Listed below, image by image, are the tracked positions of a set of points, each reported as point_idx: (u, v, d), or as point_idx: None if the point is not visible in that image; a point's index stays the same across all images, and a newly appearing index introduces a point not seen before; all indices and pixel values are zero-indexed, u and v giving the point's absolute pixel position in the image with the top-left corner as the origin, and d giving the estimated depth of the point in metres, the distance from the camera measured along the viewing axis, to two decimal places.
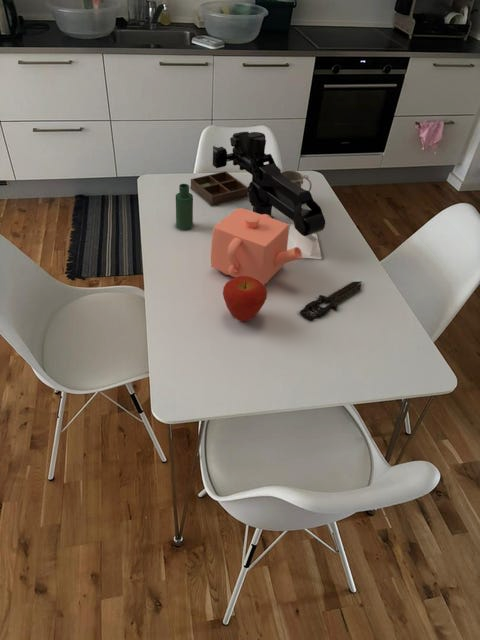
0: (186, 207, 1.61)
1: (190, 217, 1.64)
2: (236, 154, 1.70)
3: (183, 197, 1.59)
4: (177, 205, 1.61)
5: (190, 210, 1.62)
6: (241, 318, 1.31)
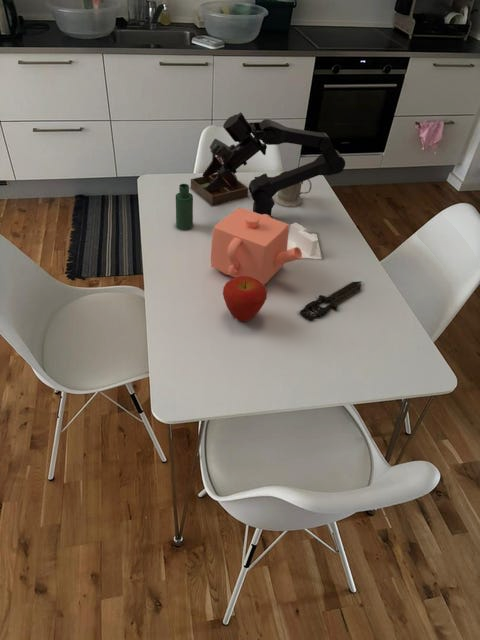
0: (186, 207, 1.61)
1: (190, 217, 1.64)
2: (230, 160, 1.56)
3: (183, 197, 1.59)
4: (177, 205, 1.61)
5: (190, 210, 1.62)
6: (241, 318, 1.31)
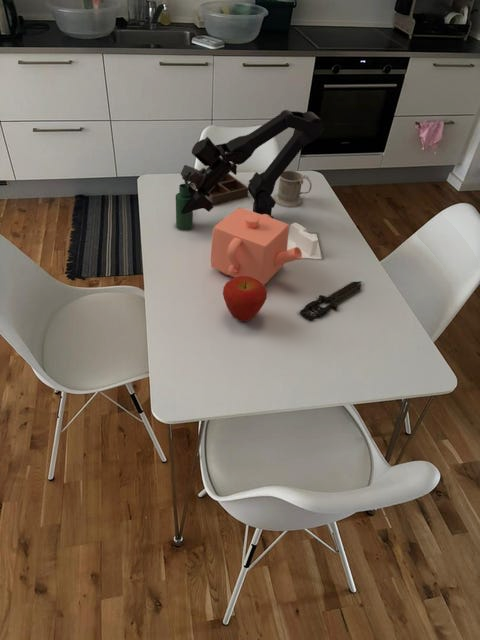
0: None
1: (190, 217, 1.64)
2: (203, 184, 1.57)
3: (183, 197, 1.59)
4: (177, 205, 1.61)
5: None
6: (241, 318, 1.31)
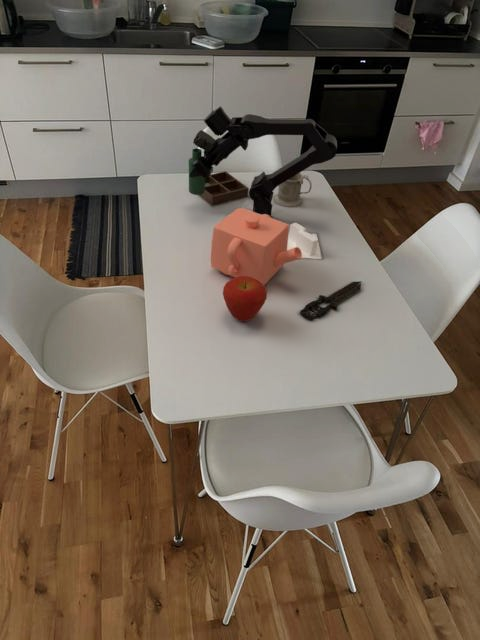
0: None
1: (199, 183, 1.69)
2: (211, 152, 1.60)
3: (193, 161, 1.65)
4: None
5: None
6: (241, 318, 1.31)
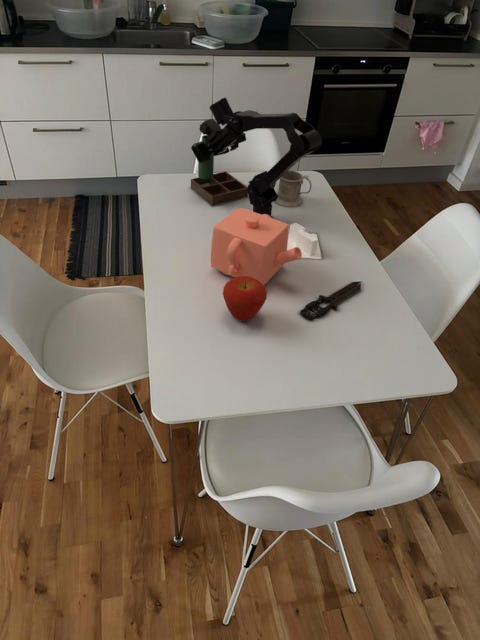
0: None
1: (204, 168, 1.79)
2: (213, 140, 1.70)
3: None
4: None
5: (204, 161, 1.77)
6: (241, 318, 1.31)
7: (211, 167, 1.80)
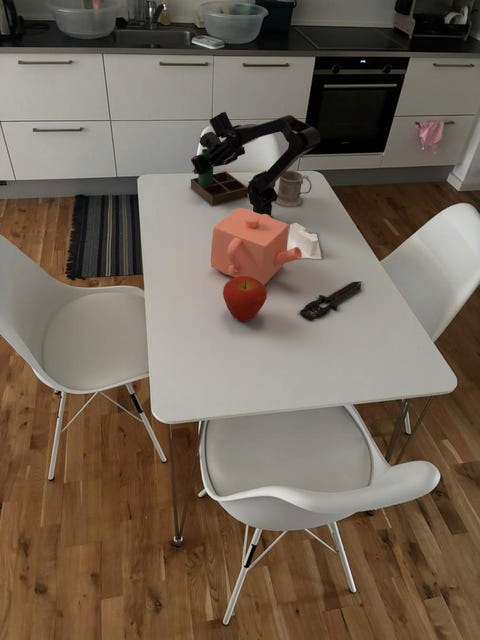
0: None
1: (204, 180, 1.82)
2: (212, 152, 1.73)
3: None
4: None
5: (204, 174, 1.81)
6: (241, 318, 1.31)
7: (211, 180, 1.83)
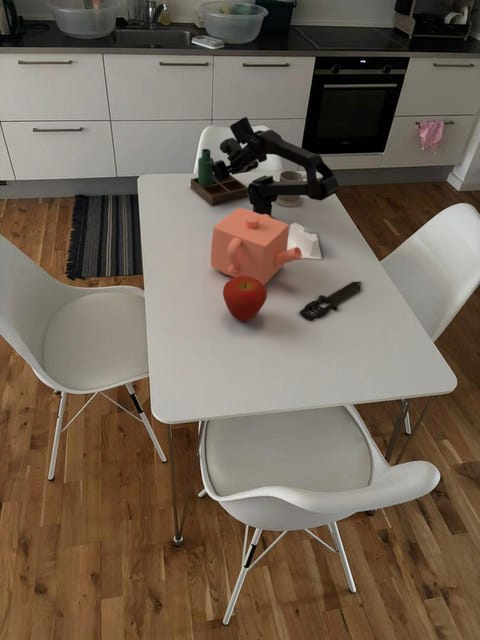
0: (201, 169, 1.80)
1: (204, 180, 1.82)
2: (233, 159, 1.68)
3: (202, 159, 1.79)
4: None
5: (204, 174, 1.81)
6: (241, 318, 1.31)
7: (211, 180, 1.83)
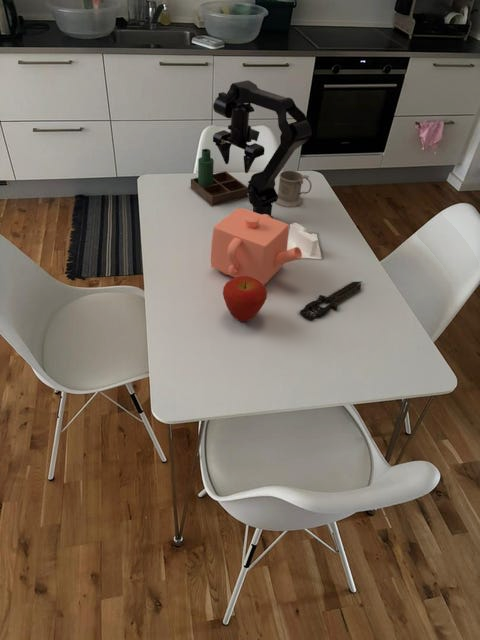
0: (201, 169, 1.80)
1: (204, 180, 1.82)
2: None
3: (202, 159, 1.79)
4: None
5: (204, 174, 1.81)
6: (241, 318, 1.31)
7: (211, 180, 1.83)
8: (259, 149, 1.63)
